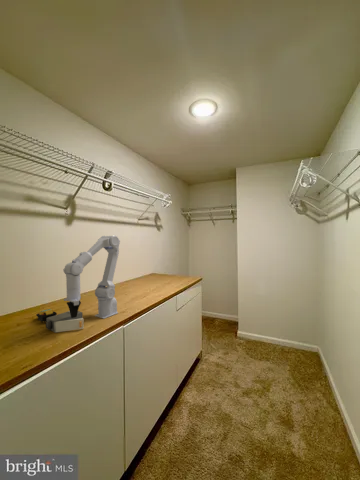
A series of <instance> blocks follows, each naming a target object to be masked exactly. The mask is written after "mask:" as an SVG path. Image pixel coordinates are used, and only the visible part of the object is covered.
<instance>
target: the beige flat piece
mask: <svg viewBox="0 0 360 480" xmlns="http://www.w3.org/2000/svg"><path fill="white" fill-rule="evenodd" d="M83 329H84V318H81V319H73V320H65V321H57V322H54V332H53V333H61V332H68V331H74V330H77V331H78V330H83Z"/></svg>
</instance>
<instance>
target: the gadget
mask: <svg viewBox="0 0 360 480" xmlns="http://www.w3.org/2000/svg"><path fill="white" fill-rule="evenodd" d="M55 315H58V313H57V312H56V311H54V309H53V308H49V309H43V310H40V311H39V312H38V313H36V317H37V320H38V321H39V322H43V323H46V322H47V319H46V318H48V317H51V316H55Z"/></svg>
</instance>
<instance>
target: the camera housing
mask: <svg viewBox="0 0 360 480" xmlns="http://www.w3.org/2000/svg"><path fill="white" fill-rule="evenodd" d="M83 317H84V316H83V312H82V311H80V310H78V313H77V317H74V318H71V315H70V310H68V311H65V312H62V313H57V315H55V316H51V317H48V318H46V319H47V322H45V327H46V330H47V331H48V330H49V331H51V332H53V333H55V332H54V322H57V321H65V320H73V319H81V318H83ZM83 319H84V318H83Z"/></svg>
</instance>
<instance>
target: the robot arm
mask: <svg viewBox="0 0 360 480" xmlns="http://www.w3.org/2000/svg"><path fill="white" fill-rule="evenodd" d="M120 243H121V240H120V238H119V237H118V235H115V234H113V235H102V236H101V237H100V238H98V239H97V241H96V242H95V243H94V244H93V245H92V246H91V247H90V248H89V249H88V250H87V251H83V252H81V251H80V253H79V255H77V257H76V258H74V259H73V258H72V261H71V262H68V263H66V264H65V266H64V268H63V273H64V274H65V277H66V278H65V279H66V280H65V281H66V283H65V285H66V297H65V298H63V301H64V302H66V305H67V307H68V311H70V315H71V318H74V317H77V313H78V311H79V308H80V306H81V304H82V301H81V298H82V296H81V274H82V273H83V270H84V268H85V267H86V266H87V265H88V264H89V263H90V262H91V261H92V260H93V256H95V255H96V254H97V253H98V252H99V251H100V250H102V249H104V250H105V251H106V252H107V258H106V262H105V266H104V271H103V275H102V279H101V280H100V282H99V283H98V284H97V287H96V289H95V290H94V295H95V297H96V299H97V306H98V308H97V309H98V310H97V311H98V312H97V314H95V315H94V317H97V318H101V319H107V318H110V317H111V316H115V315H118V314H119V311H118V301H117V299H116V297H115V294H116V289H115V288H116V285H115V284H114V282H113V280H114V276H115V272H116V267H117V262H118V258H119V253H120Z"/></svg>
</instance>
